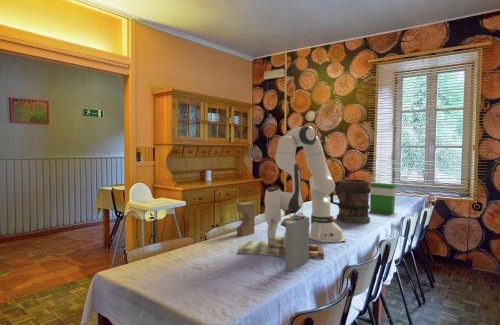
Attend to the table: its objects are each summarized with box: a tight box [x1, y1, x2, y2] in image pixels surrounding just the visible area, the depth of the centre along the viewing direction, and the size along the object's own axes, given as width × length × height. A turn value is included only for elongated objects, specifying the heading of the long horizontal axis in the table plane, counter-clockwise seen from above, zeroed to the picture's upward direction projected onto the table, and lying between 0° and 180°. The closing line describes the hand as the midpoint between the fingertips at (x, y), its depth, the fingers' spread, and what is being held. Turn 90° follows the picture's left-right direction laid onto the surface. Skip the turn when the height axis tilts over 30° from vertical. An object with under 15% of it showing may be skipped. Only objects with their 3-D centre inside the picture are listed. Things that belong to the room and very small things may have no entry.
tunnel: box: [282, 232, 286, 249], centre depth 177 cm, size 8×8×6 cm
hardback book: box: [369, 182, 396, 215], centre depth 276 cm, size 18×7×24 cm, turn 52°
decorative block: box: [236, 201, 256, 237], centre depth 210 cm, size 11×6×20 cm, turn 134°
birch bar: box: [267, 236, 284, 247], centre depth 178 cm, size 16×4×4 cm, turn 81°
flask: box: [284, 213, 310, 272], centre depth 157 cm, size 17×5×25 cm, turn 140°
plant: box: [281, 211, 311, 227], centre depth 237 cm, size 20×20×11 cm
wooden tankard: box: [329, 178, 371, 225], centre depth 249 cm, size 24×30×30 cm
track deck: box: [239, 240, 325, 258], centre depth 178 cm, size 44×14×2 cm, turn 81°
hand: (272, 242), depth 179 cm, fingers closed on birch bar, 4 cm apart
